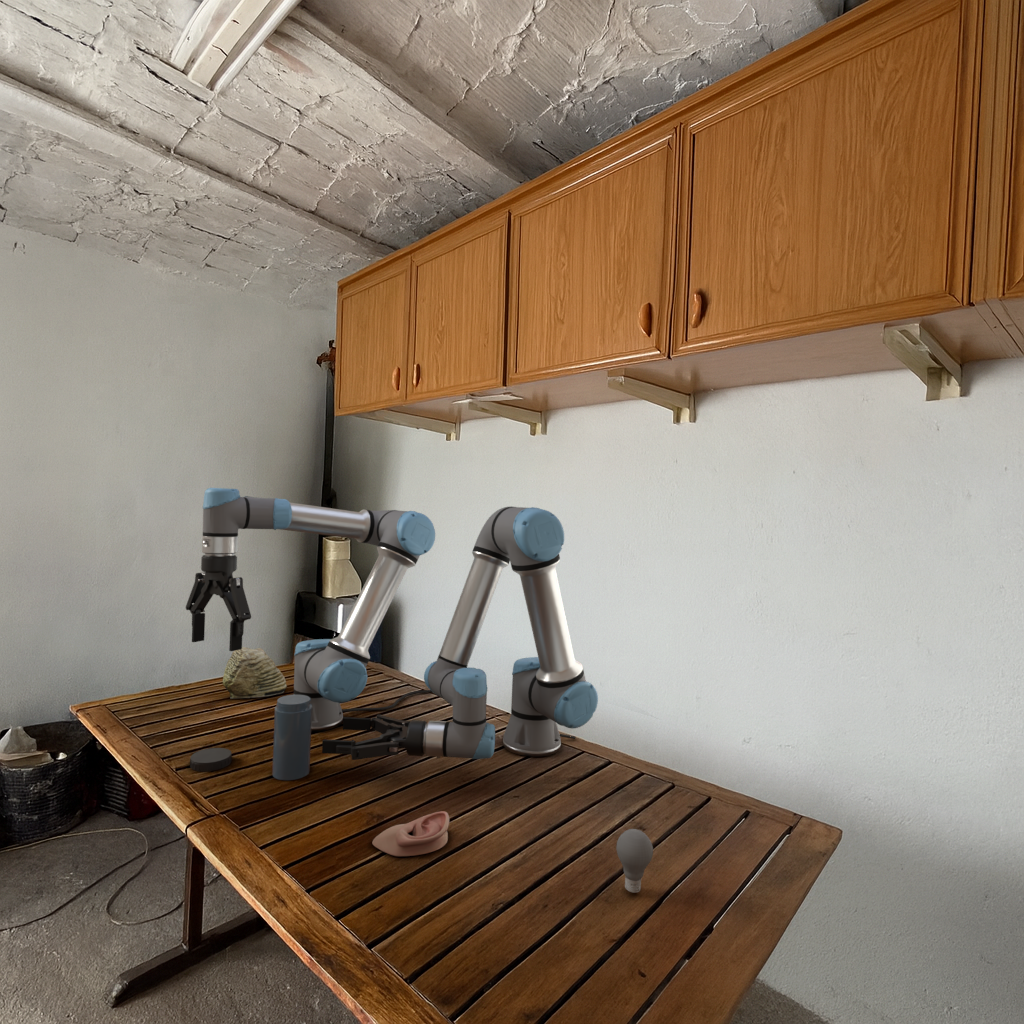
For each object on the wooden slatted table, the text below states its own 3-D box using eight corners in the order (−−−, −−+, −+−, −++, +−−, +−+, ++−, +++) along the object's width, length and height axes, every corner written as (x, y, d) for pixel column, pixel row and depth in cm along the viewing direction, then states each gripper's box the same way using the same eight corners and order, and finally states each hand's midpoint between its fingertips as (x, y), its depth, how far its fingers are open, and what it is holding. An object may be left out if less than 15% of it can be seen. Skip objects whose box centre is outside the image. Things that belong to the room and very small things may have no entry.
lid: (208, 753, 153) (208, 745, 153) (239, 759, 151) (239, 750, 151) (180, 768, 144) (181, 759, 144) (213, 774, 142) (213, 765, 142)
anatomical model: (365, 829, 114) (390, 800, 125) (364, 851, 114) (389, 820, 125) (436, 840, 111) (455, 810, 122) (435, 863, 111) (454, 830, 122)
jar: (284, 783, 139) (287, 707, 139) (265, 772, 144) (267, 699, 144) (316, 772, 145) (319, 699, 145) (296, 762, 150) (299, 691, 150)
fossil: (218, 695, 195) (220, 647, 195) (278, 685, 208) (279, 640, 207) (228, 703, 189) (230, 653, 188) (289, 692, 201) (290, 645, 201)
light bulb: (610, 879, 108) (613, 822, 108) (644, 879, 109) (647, 822, 109) (619, 902, 102) (622, 840, 102) (655, 901, 103) (658, 840, 103)
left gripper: (171, 551, 150) (168, 640, 150) (241, 559, 137) (237, 657, 138) (200, 549, 156) (197, 635, 157) (269, 557, 144) (266, 650, 144)
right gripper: (414, 780, 130) (312, 775, 131) (435, 733, 155) (350, 730, 156) (414, 743, 130) (313, 739, 131) (436, 703, 155) (351, 699, 156)
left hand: (216, 645), depth 147 cm, fingers open, 13 cm apart
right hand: (333, 734), depth 144 cm, fingers open, 13 cm apart
